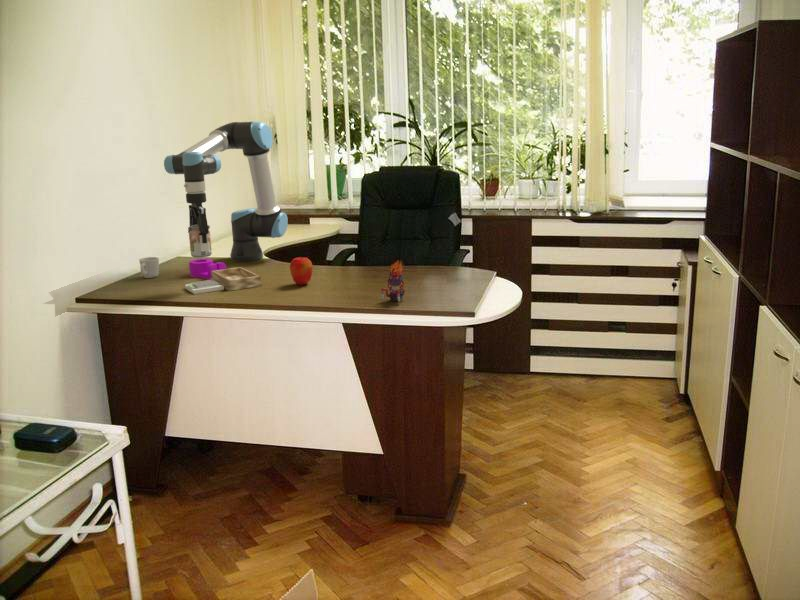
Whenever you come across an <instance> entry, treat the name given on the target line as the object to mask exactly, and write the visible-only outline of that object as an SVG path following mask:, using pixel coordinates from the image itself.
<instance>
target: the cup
mask: <svg viewBox="0 0 800 600" xmlns="http://www.w3.org/2000/svg"><path fill="white" fill-rule="evenodd" d="M159 261H160V259H159V257H157V256H149V257H148V256H146V257H143V258H139V265H140V273H141V274H142V277H143V278H145V279H153V278H158V277H159V273H160V272H159V271H160V262H159Z"/></svg>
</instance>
